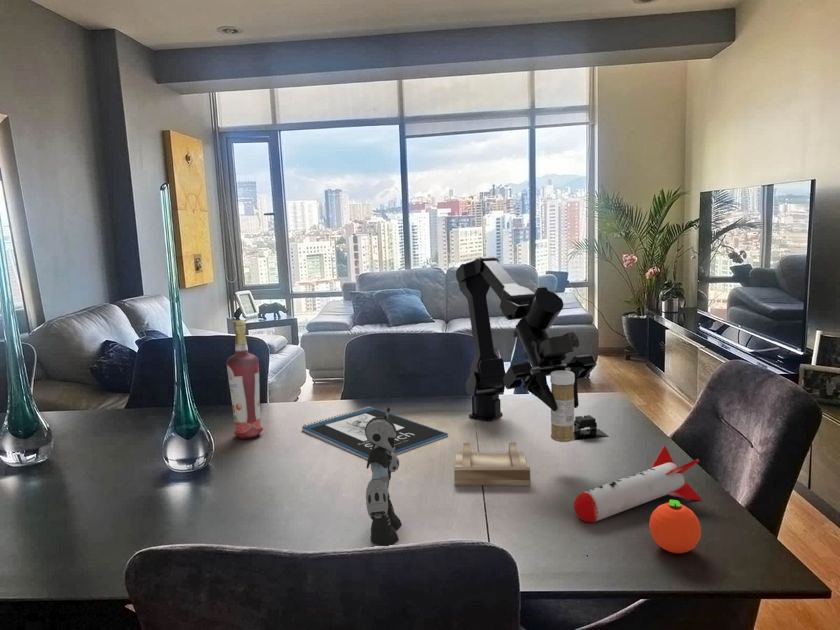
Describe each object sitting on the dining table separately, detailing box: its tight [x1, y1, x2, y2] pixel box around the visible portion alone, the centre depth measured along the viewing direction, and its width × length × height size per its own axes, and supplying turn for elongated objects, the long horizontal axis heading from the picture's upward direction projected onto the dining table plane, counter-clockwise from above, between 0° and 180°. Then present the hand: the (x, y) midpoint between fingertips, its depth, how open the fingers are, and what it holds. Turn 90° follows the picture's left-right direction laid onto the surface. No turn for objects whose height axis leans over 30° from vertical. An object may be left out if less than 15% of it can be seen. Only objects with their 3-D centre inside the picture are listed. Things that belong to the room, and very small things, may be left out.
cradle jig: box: [453, 442, 531, 486], centre depth 116 cm, size 14×14×3 cm
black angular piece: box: [571, 414, 610, 442], centre depth 133 cm, size 12×7×5 cm, turn 100°
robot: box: [365, 407, 403, 547], centre depth 92 cm, size 20×5×20 cm, turn 176°
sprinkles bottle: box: [549, 370, 575, 443], centre depth 114 cm, size 5×5×14 cm
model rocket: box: [573, 445, 703, 523], centre depth 99 cm, size 11×23×10 cm
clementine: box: [648, 499, 702, 554], centre depth 85 cm, size 8×7×7 cm
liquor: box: [225, 319, 264, 440], centre depth 139 cm, size 7×7×28 cm
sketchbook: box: [301, 405, 449, 460], centre depth 140 cm, size 22×30×2 cm
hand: (566, 408), depth 113 cm, fingers closed on sprinkles bottle, 4 cm apart
